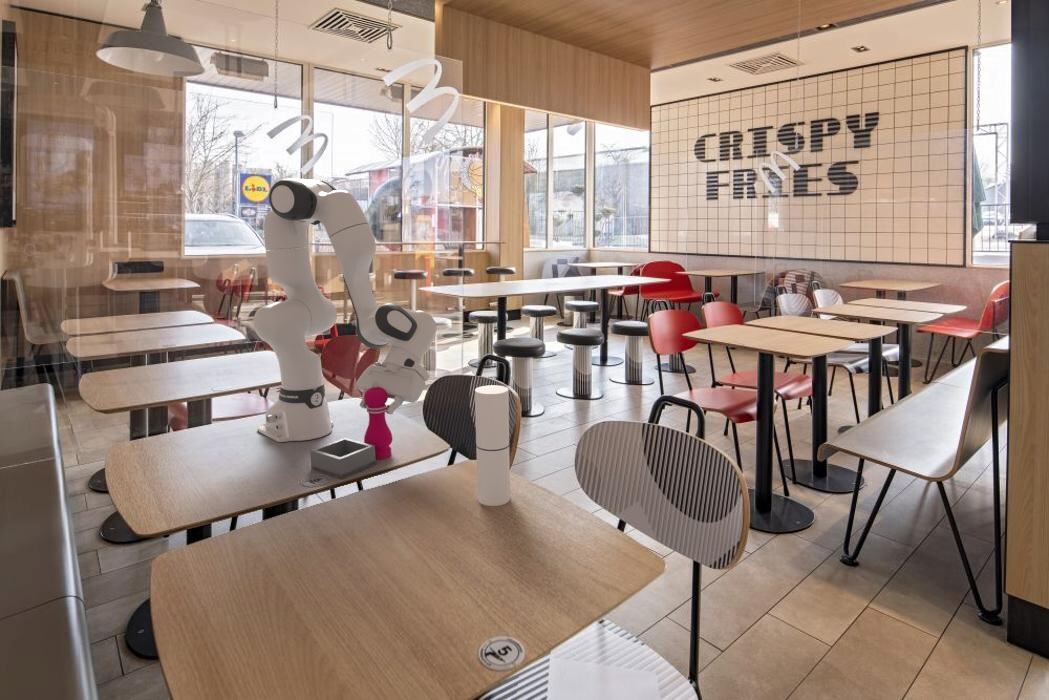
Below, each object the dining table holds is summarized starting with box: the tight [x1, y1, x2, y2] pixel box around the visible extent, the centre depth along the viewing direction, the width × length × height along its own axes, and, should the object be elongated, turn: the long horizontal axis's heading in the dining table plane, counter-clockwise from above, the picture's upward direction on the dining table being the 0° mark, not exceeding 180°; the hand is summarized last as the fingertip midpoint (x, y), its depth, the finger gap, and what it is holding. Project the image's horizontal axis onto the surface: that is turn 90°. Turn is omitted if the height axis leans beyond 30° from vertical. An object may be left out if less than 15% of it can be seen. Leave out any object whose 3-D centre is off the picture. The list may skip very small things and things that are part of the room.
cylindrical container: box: [474, 384, 511, 507], centre depth 138 cm, size 7×7×25 cm
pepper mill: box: [363, 381, 393, 460], centre depth 165 cm, size 7×7×20 cm
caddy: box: [309, 437, 377, 480], centre depth 159 cm, size 11×11×5 cm
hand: (375, 410), depth 164 cm, fingers open, 8 cm apart
